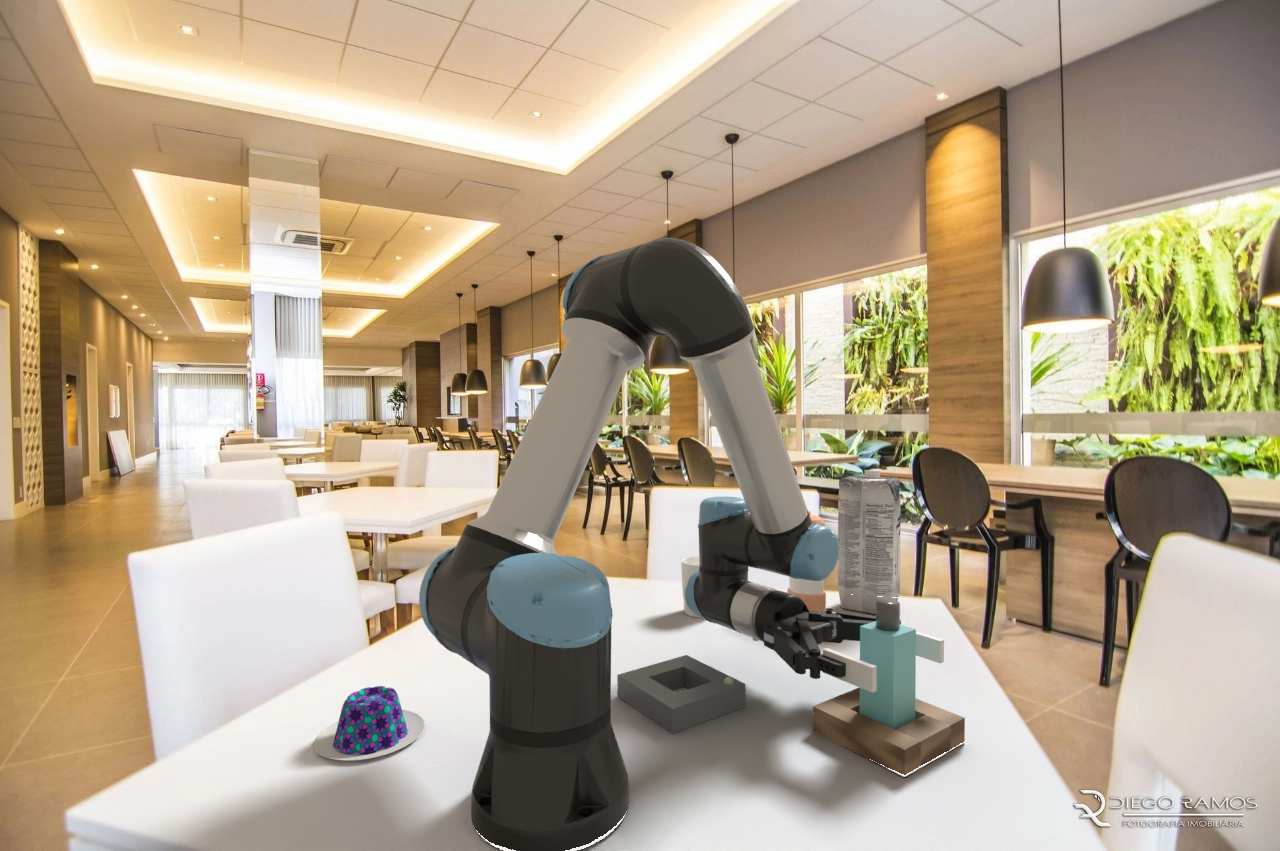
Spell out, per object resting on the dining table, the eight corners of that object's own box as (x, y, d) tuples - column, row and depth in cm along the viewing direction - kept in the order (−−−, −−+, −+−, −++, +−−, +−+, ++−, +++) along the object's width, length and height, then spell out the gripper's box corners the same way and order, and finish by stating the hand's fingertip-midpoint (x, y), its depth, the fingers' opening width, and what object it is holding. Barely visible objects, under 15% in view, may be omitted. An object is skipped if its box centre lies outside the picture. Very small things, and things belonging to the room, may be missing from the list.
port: (745, 706, 82) (745, 678, 82) (672, 733, 75) (672, 702, 75) (686, 675, 92) (686, 650, 92) (617, 696, 85) (617, 669, 85)
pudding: (358, 710, 82) (358, 670, 81) (443, 719, 79) (443, 678, 79) (289, 760, 70) (289, 713, 70) (386, 773, 67) (386, 724, 67)
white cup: (721, 606, 124) (721, 556, 124) (723, 619, 116) (723, 566, 116) (681, 605, 125) (681, 555, 125) (680, 618, 117) (680, 565, 117)
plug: (915, 739, 74) (916, 603, 73) (893, 751, 71) (893, 610, 71) (881, 724, 77) (882, 594, 77) (859, 735, 75) (860, 600, 74)
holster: (964, 743, 73) (964, 717, 73) (904, 778, 66) (904, 749, 66) (873, 704, 82) (873, 681, 82) (812, 731, 75) (812, 706, 75)
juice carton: (889, 619, 116) (890, 473, 116) (834, 609, 123) (834, 470, 122) (902, 607, 123) (903, 470, 123) (849, 598, 130) (850, 467, 129)
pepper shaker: (830, 614, 119) (830, 513, 119) (791, 614, 120) (792, 513, 119) (820, 602, 127) (820, 508, 126) (783, 602, 127) (784, 507, 127)
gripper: (827, 625, 96) (966, 671, 79) (704, 662, 82) (841, 729, 65) (827, 576, 96) (966, 612, 79) (704, 605, 82) (841, 656, 64)
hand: (910, 664), depth 72 cm, fingers open, 13 cm apart
